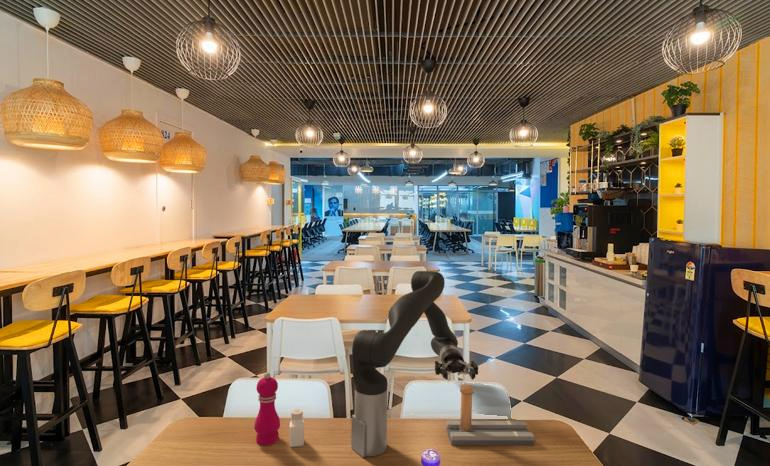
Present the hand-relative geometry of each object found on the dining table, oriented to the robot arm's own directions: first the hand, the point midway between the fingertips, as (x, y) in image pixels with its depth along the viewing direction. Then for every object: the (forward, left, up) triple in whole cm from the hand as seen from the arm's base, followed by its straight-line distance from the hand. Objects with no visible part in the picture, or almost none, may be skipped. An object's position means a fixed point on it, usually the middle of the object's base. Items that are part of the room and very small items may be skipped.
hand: (459, 376), depth 139 cm
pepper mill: (-55, +24, -14) cm, 62 cm away
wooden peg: (-7, -9, -12) cm, 17 cm away
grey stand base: (-1, -13, -14) cm, 19 cm away
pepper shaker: (-49, +17, -14) cm, 54 cm away
